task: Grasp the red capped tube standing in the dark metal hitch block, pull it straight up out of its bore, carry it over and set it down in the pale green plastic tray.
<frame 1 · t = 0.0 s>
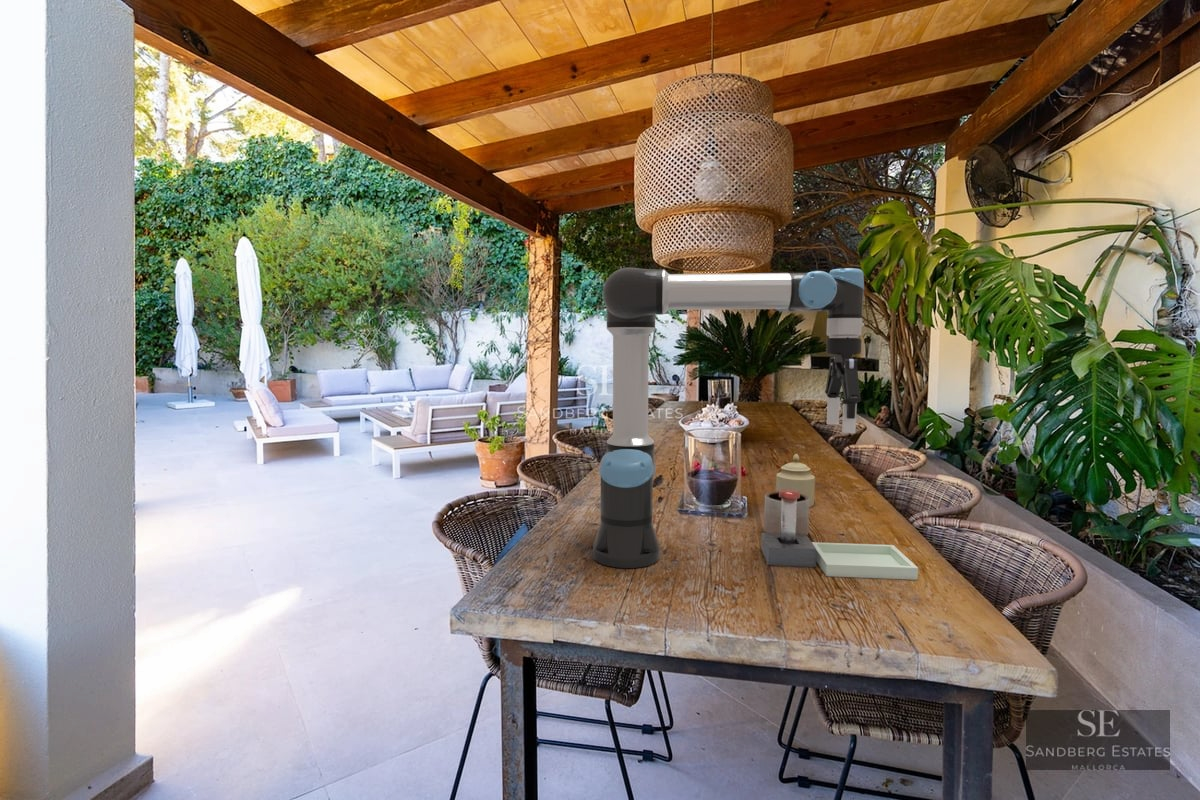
hand: (840, 428, 144), 28 cm above the table, fingers open, 13 cm apart
planter: (785, 534, 156), on the table
red capped tube: (787, 558, 138), resting in hitch block
tray: (861, 565, 134), on the table
sugar bowl: (791, 502, 186), on the table
hitch block: (787, 557, 138), on the table
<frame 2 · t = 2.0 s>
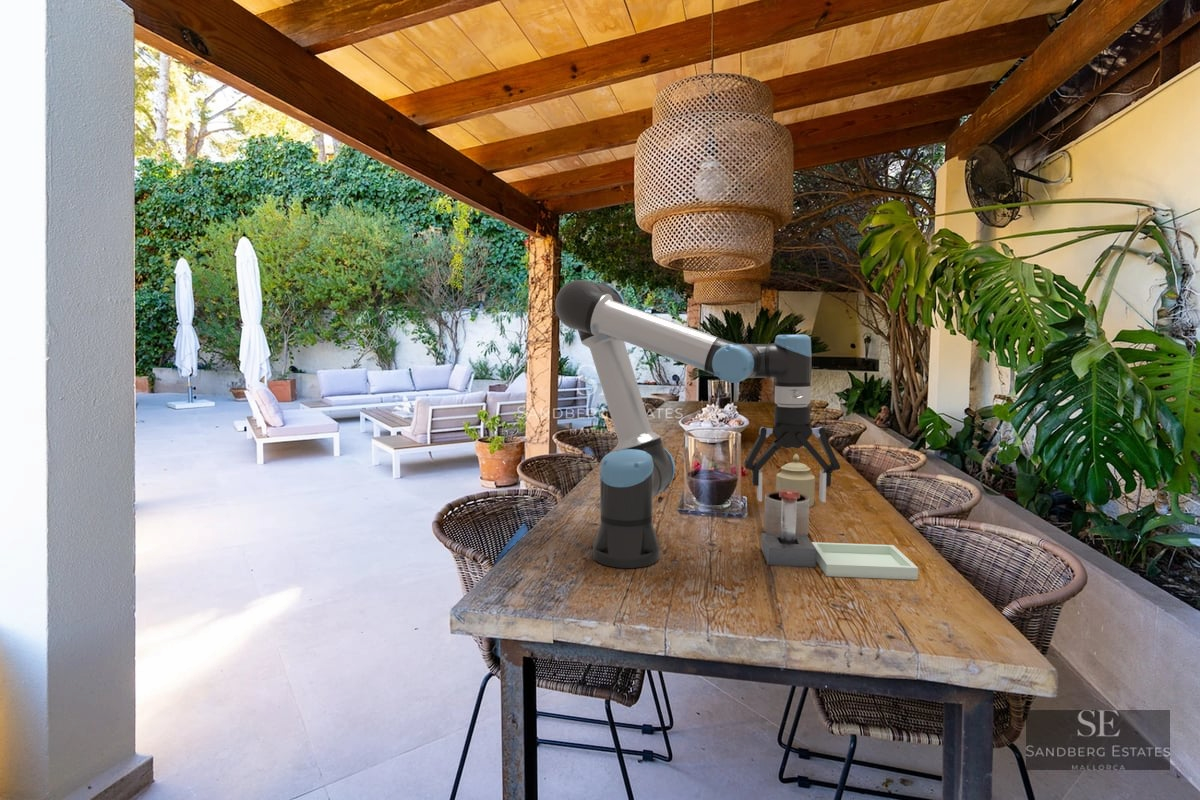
hand: (790, 500, 137), 13 cm above the table, fingers open, 13 cm apart
nothing on the table moved.
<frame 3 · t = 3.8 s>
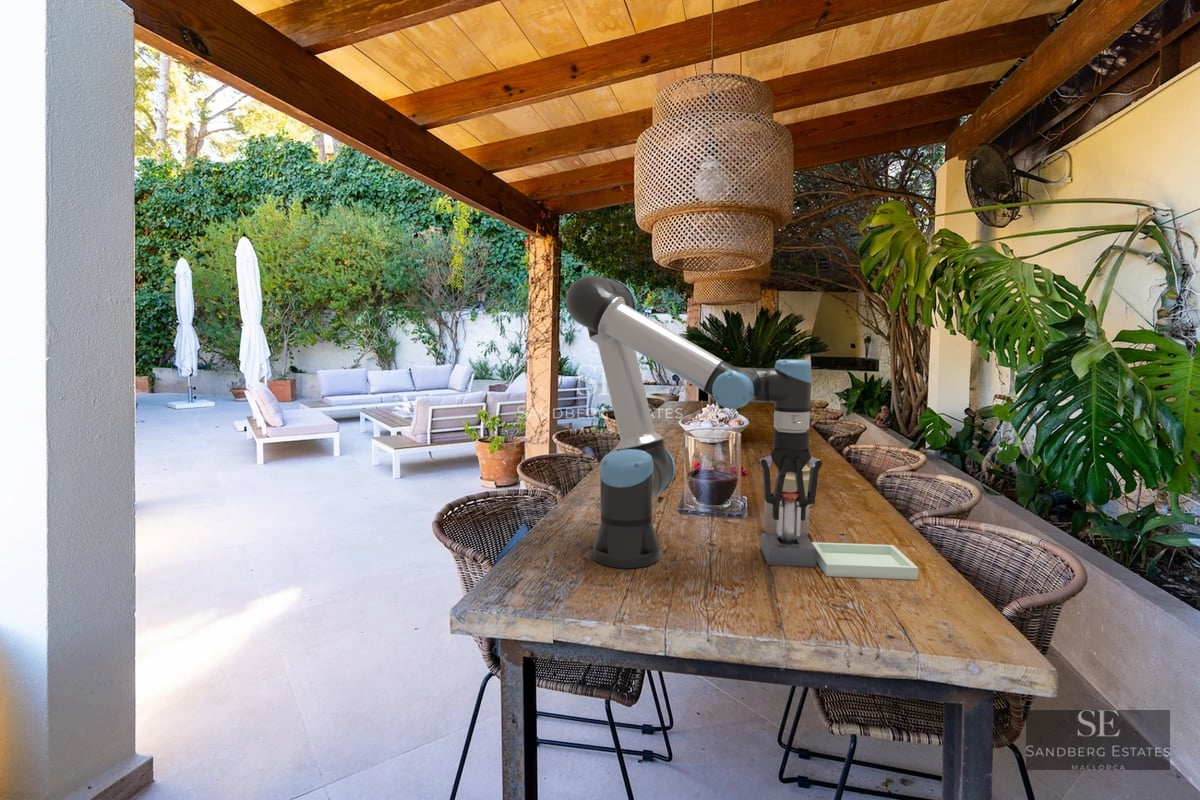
hand: (788, 533, 138), 6 cm above the table, fingers closed on red capped tube, 3 cm apart
red capped tube: (787, 557, 138), resting in hitch block, touching gripper
everything else where it was.
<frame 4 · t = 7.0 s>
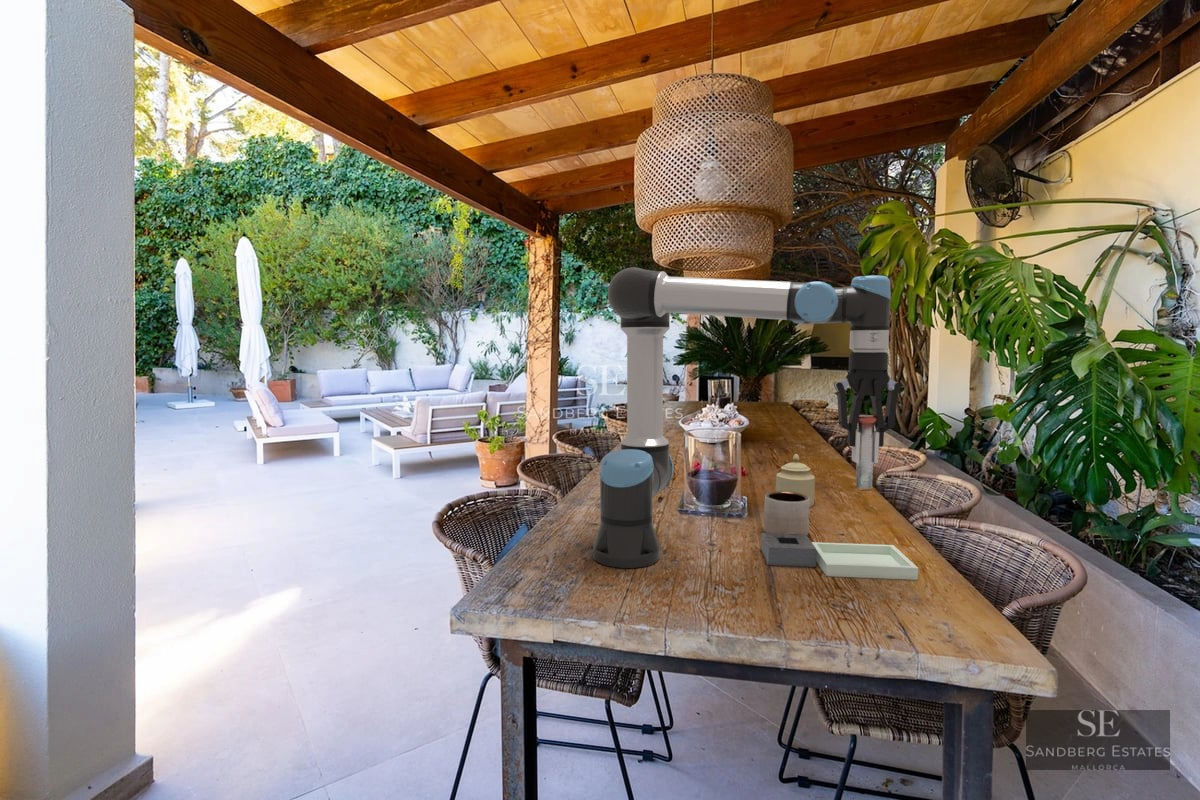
hand: (864, 461, 131), 23 cm above the table, fingers closed on red capped tube, 3 cm apart
red capped tube: (863, 486, 132), point 17 cm above the table, touching gripper
everything else where it was.
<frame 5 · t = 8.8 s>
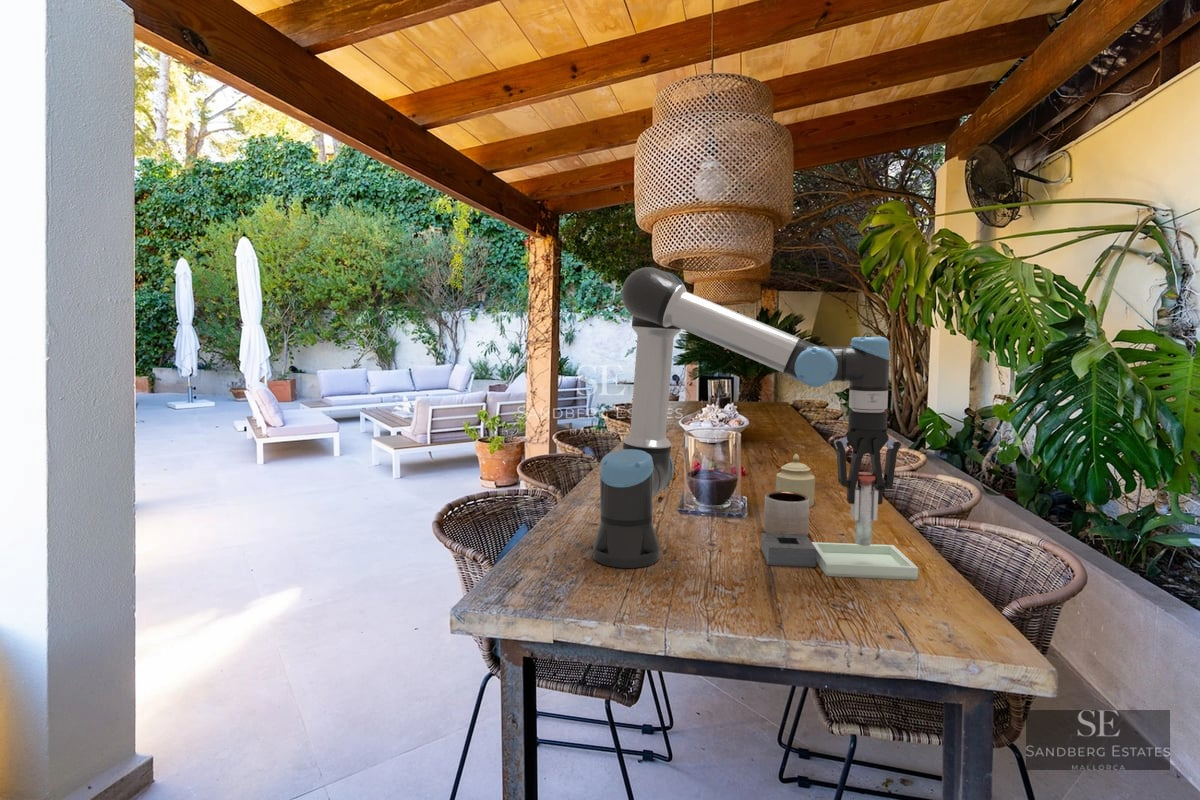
hand: (863, 518, 132), 11 cm above the table, fingers closed on red capped tube, 3 cm apart
red capped tube: (863, 543, 133), point 5 cm above the table, touching gripper
everything else where it was.
when the fingers open (7 cm above the table, at t = 10.0 s): red capped tube stays where it is, resting on tray.
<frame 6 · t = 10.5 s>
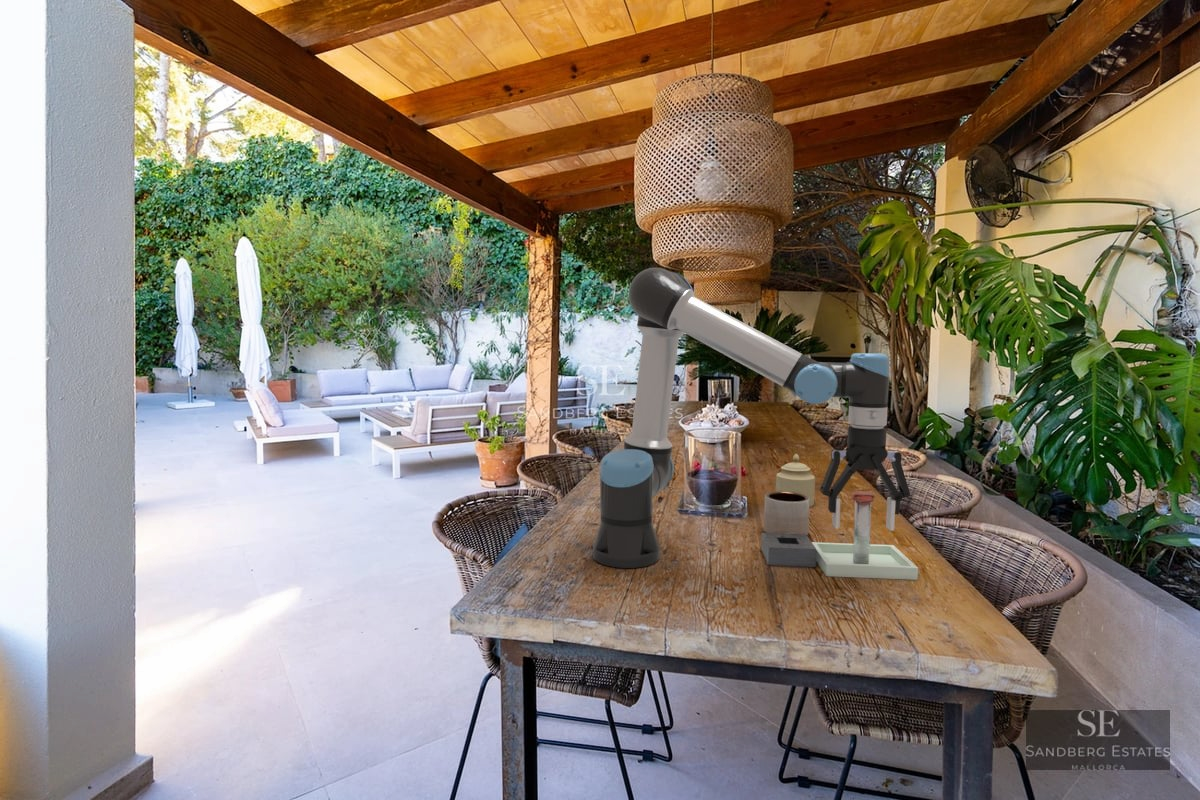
hand: (862, 527, 133), 8 cm above the table, fingers open, 10 cm apart
red capped tube: (860, 562, 133), point 1 cm above the table, touching tray
everything else where it was.
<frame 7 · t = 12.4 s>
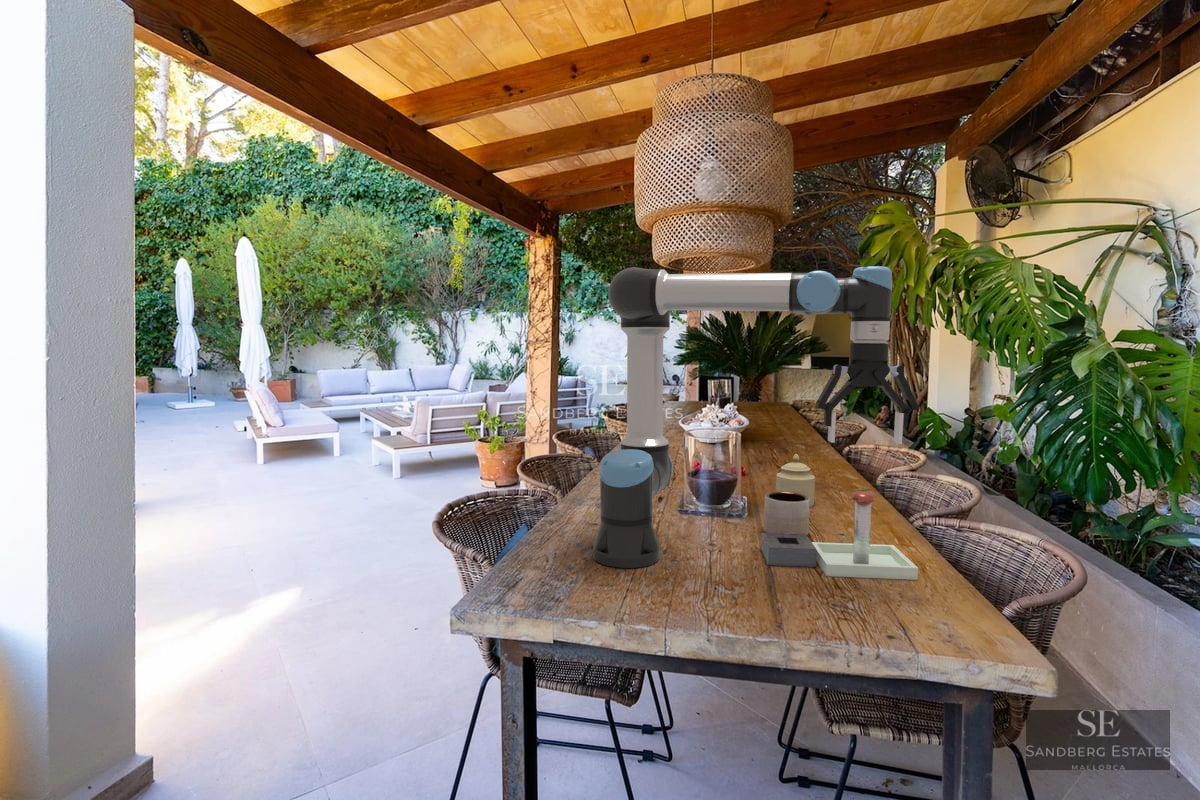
hand: (864, 442, 131), 27 cm above the table, fingers open, 13 cm apart
nothing on the table moved.
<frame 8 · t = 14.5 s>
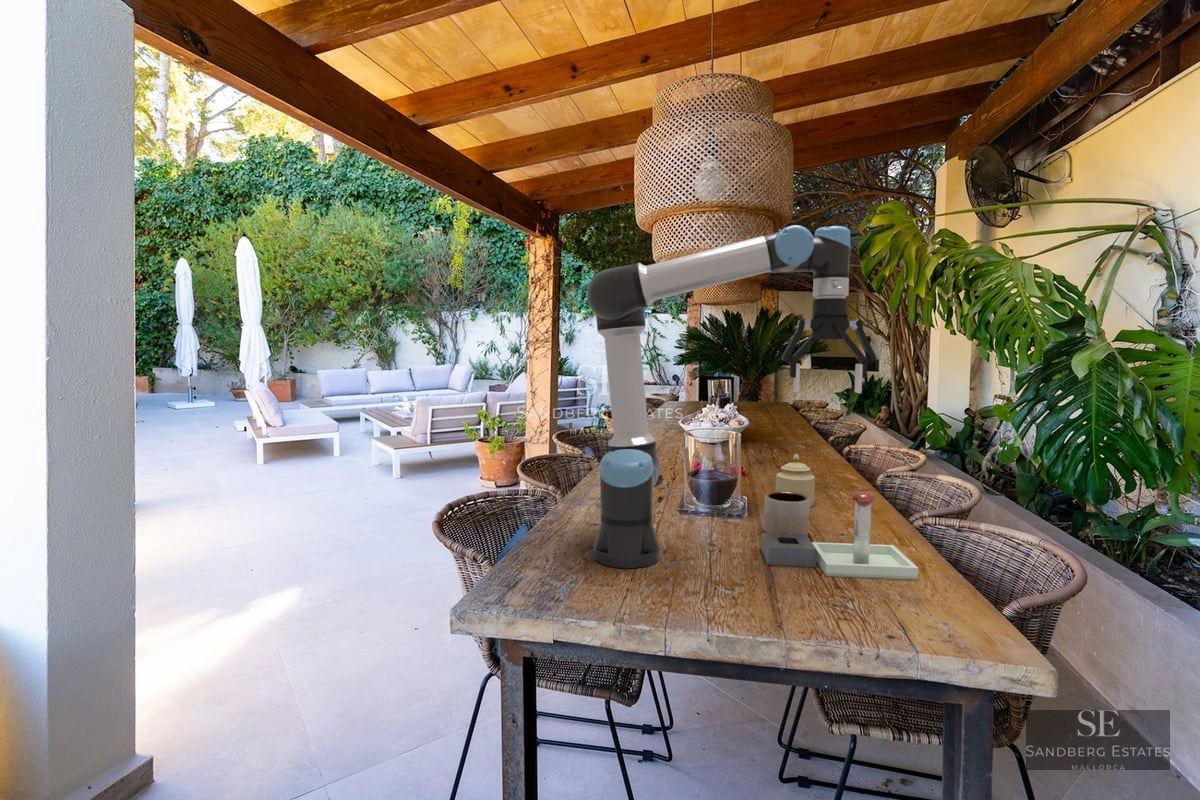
hand: (826, 392, 140), 37 cm above the table, fingers open, 13 cm apart
nothing on the table moved.
at the end: red capped tube inside the target area on the tray (0.1 cm from its centre), point 0.6 cm above the tray's base; red capped tube touching tray; the gripper is holding nothing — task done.
